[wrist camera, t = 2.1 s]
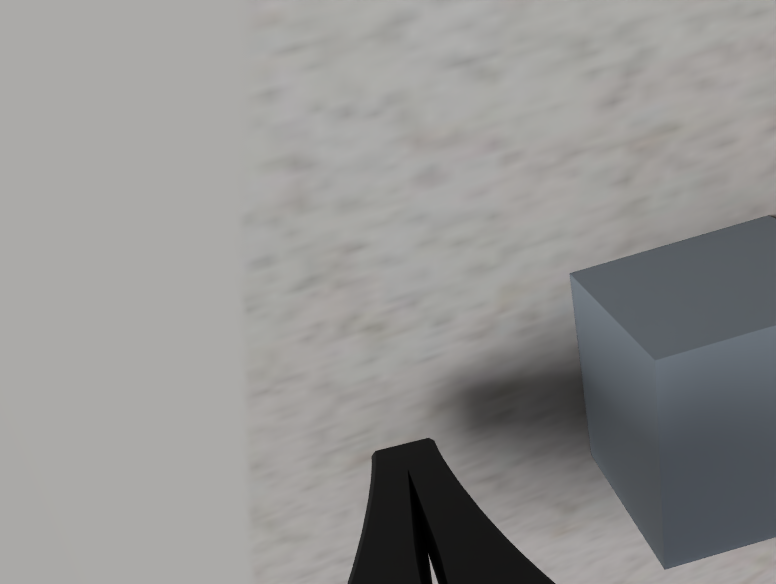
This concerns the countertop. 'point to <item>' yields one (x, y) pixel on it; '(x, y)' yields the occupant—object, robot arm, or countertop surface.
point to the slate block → (686, 387)
